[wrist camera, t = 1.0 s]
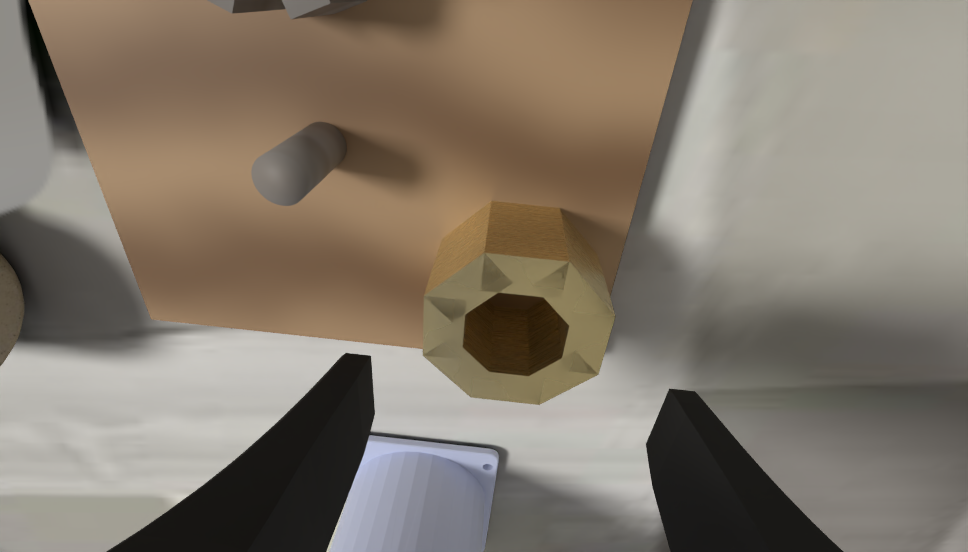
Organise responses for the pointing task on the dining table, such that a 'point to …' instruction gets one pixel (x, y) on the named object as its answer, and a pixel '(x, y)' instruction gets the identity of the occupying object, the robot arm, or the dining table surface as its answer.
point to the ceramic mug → (9, 308)
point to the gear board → (352, 141)
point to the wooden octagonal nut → (509, 331)
